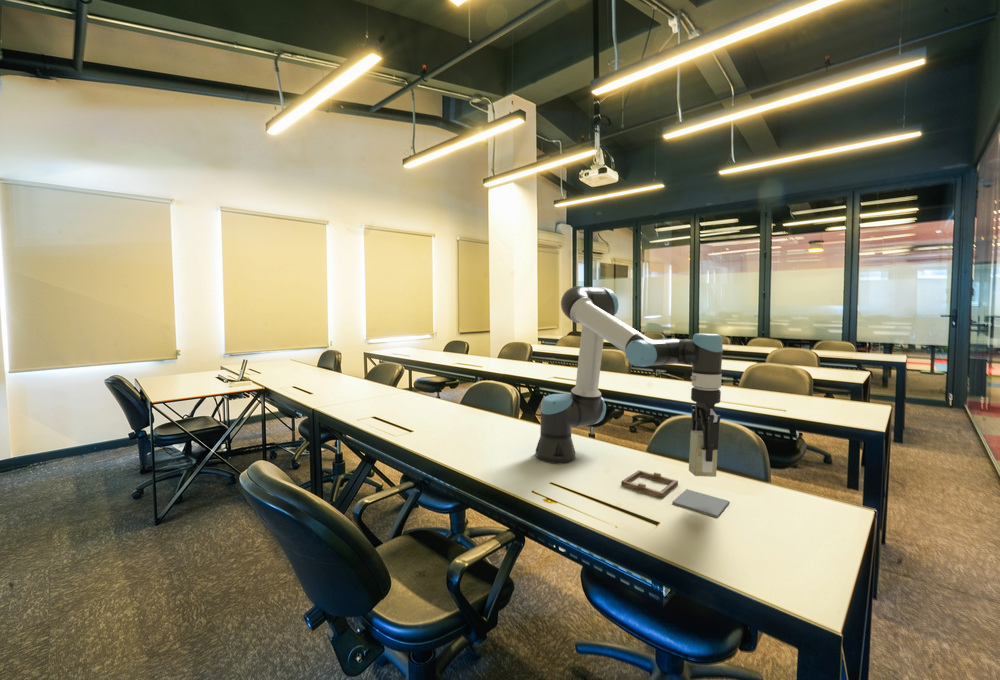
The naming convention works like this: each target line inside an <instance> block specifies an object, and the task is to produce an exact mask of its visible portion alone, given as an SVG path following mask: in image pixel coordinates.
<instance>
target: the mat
mask: <svg viewBox="0 0 1000 680" xmlns="http://www.w3.org/2000/svg"><path fill="white" fill-rule="evenodd" d="M671 503H672V505H675V506H679V507H682V508H685V509H688V510H691V511H694V512H697V513H701V514H705V515H707V516H711V517H713V518H719V516H720V515H722V513H723V512H724V511H725V510H726V508H727V506H728V505H729V504H730V501H729V500H727V499H725V498H724V499H723V498H720V497H716V496H714V495H710V494H705V493H702V492H698V491H695V490H691V489H688V488H686V489H685V490H684V491H683V492H681V493H680V495H678V496H677V497H676V498H675V499H674V500H673V501H671Z"/></svg>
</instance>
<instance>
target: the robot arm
mask: <svg viewBox="0 0 1000 680" xmlns="http://www.w3.org/2000/svg"><path fill="white" fill-rule="evenodd" d="M560 307H561V311H562V313H563V314H564V315H565V316H566V317H567V319H569V320H571V322H573V323H576V324H580V325H581V331H580V332H581V333H580V342H579V353H578V359H577V360H578V361H577V362H578V363H577V369H576V370H577V371H576V377H575V379H576V380H575V386H574V387H572V389H570V394H568V393H553V394H549V395H546V396H544V397H543V398H542V400H541V403H540V408H539V409H540V435H539V438H538V442H537V444H536V448H535V458H536V459H537V460H539V461H541V462H544V463H548V464H555V465H556V464H568V463H569V464H570V463H571V462H575V460H576V455H577V453H576V449H575V446H574V443H573V439H572V438H573V437H572V429H573V428H578V427H579V428H580V427H586V426H592V425H593V426H594V425H595V424H598V423H600V422H601V421H603V419H604V418H605V415H606V412H607V405H606V403H605V399H604V397H602V392H601V391H600V390H599V384H600V374H601V366H602V356H603V349H604V340H606V342H608V343H610V344H611V345H613V346H615V348H617V349H618V350H620V351H621V352H623V353H624V354H625V358H626V359H627V361H628V363H629V364H630V365H631V366H633V367H642V368H643V367H644V368H645V367H650V366H652V367H653V366H663V365H665V366H667V365H674V364H675V365H685V366H686V365H687V366H691V376H690V380H691V387H692V388H691V389H690V390H691V391H690V393H691V394H690V400H691V401H693V402H694V403H695V404H694V405H693V404H692V405H690V409H691V411H690V412H691V420H690V421H691V422H690V423H691V424H690V425H691V427H690V431H691V430H692V431H703V439H704V447H701V449H702V468H701V471H702V472H712V468H713V450H719V435H720V433H719V432H720V422H721V417H722V416H721V414H716V404H719V403H721V396H722V395H721V393H722V391H721V389H720V388H722V377H723V376H722V375H723V374H722V366H723V365H722V361H723V352H724V348H723V337H722V336H721V334H718V333H694V334H693V336H692V339H683V338H682V339H681V338H674V337H673V338H672V337H669V338H668V337H666V338H665V337H664V338H659V339H652V338H650V337H648V336H646V335H644V334H643V333H642V332H639V331H638V330H636V329H635V328H634V327H631V326H630V325H628V324H626V323H625V322H623V321H621V320H620V319H618V318H617V317H615V315H616V314H617V313H618V310H619V300H618V297H617V295H616V293H615V292H614V291H613V290H611V289H610V288H608V287H602V286H583V285H579V286H573V287H571V288H568V290H566V291H565V292H564V293H563V295H562V297H561V300H560Z"/></svg>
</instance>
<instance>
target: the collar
mask: <svg viewBox="0 0 1000 680" xmlns="http://www.w3.org/2000/svg"><path fill="white" fill-rule="evenodd" d="M640 477H642V478H647V479H650V480H653V481H657V482H661V483H664V484H667V485H666V486H665V487H664V488H663V489H661V490H656V489H653V488H650V487H647V486H646V484H645V483H642V482H639V483H633V482H634V481H635V480H637V479H638V478H640ZM620 483H621V484H620V486H621V487H624V488H628V489H631V490H634V491H636V492H641V493H644V494H647V495H650V496H653V497H656V498H660V499H663V498H664V497H666V496H667V495H668V494H669V493H671V492H672V491H673V490H674V489H676V488H677V487H679V486H678V485H679V481H678V480H677V479H673V478H670V477H665V476H663V475H662V473H659V472H656V471H655V472H653V473H652V472H647V471H643V470H639V469H638V470H636V471H635V472H634V473H632V474H630V475H629V476H627V477H626V478H624V479H623V480H621V481H620Z"/></svg>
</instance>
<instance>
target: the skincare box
mask: <svg viewBox="0 0 1000 680" xmlns="http://www.w3.org/2000/svg"><path fill="white" fill-rule="evenodd" d="M689 438H690V440H689V457H688V458H689V459H688V471H689V472H690V473H691V474H692V475H694V476H695V477H706V478H707V477H708V478H709V477H711V478H712V477H713V478H714V477H715V478H716V477H717V470H718V469H717V467H718V466H717V465H718V450H719V449H718V450H713V468H712V472H702V471H701V468H702V449H701V447H704V439H703V431H692V430H691V429H690V437H689Z"/></svg>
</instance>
